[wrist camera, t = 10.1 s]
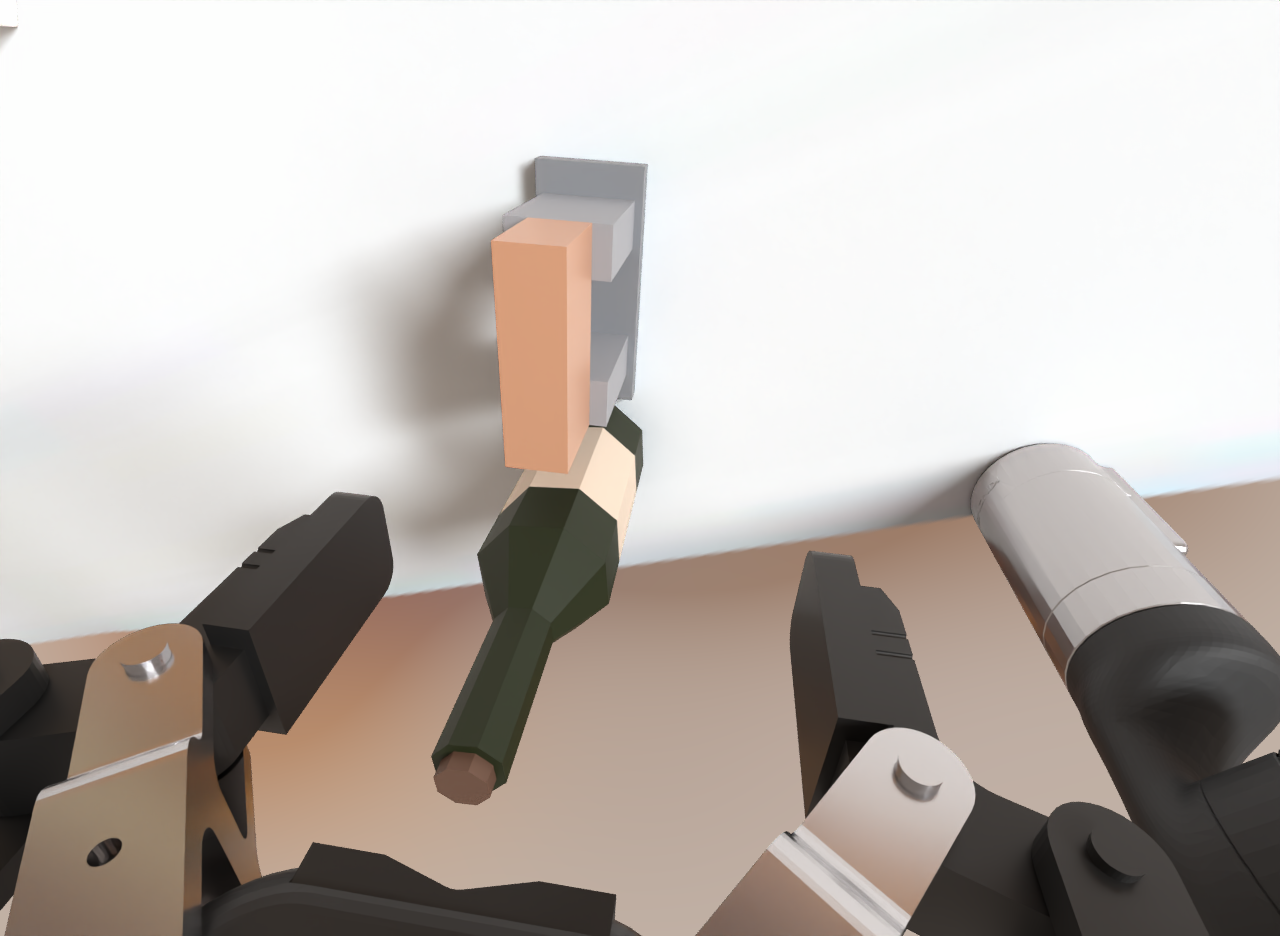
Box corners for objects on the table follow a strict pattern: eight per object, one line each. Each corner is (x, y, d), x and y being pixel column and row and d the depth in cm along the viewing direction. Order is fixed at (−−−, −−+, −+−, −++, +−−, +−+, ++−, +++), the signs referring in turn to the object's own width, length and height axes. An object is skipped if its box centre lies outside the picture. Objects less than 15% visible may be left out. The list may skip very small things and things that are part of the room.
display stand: (647, 164, 41) (624, 184, 33) (634, 391, 50) (612, 455, 41) (541, 155, 42) (491, 173, 33) (545, 382, 50) (506, 443, 42)
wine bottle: (574, 500, 56) (435, 853, 30) (528, 419, 52) (326, 740, 26) (662, 472, 53) (592, 832, 27) (619, 384, 49) (495, 704, 24)
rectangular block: (592, 222, 34) (566, 246, 29) (589, 424, 40) (567, 474, 35) (527, 217, 34) (490, 240, 29) (534, 418, 40) (505, 466, 35)
